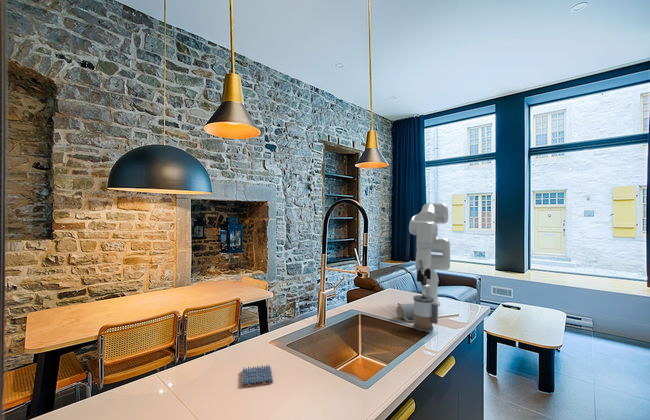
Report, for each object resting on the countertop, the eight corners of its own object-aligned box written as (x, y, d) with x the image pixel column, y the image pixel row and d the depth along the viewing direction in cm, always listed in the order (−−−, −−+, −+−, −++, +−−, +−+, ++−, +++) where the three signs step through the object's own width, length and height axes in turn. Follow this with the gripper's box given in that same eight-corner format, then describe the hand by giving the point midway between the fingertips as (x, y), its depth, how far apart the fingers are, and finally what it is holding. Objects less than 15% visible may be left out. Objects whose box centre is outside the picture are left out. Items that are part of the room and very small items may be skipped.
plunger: (420, 299, 152) (420, 274, 152) (431, 302, 148) (431, 276, 148) (415, 302, 147) (415, 276, 147) (427, 304, 143) (427, 278, 143)
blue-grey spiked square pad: (241, 390, 94) (241, 383, 94) (241, 372, 104) (241, 367, 104) (273, 385, 97) (274, 379, 97) (271, 369, 107) (271, 363, 107)
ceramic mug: (395, 316, 163) (395, 302, 163) (408, 315, 165) (408, 301, 165) (405, 323, 153) (406, 309, 153) (419, 322, 155) (419, 307, 155)
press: (417, 322, 154) (418, 294, 154) (440, 328, 147) (440, 298, 147) (410, 328, 146) (410, 298, 147) (433, 334, 139) (433, 302, 139)
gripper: (423, 244, 157) (422, 276, 156) (410, 246, 143) (409, 281, 143) (437, 245, 152) (437, 278, 152) (425, 248, 139) (424, 284, 138)
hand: (423, 280), depth 147 cm, fingers open, 9 cm apart
